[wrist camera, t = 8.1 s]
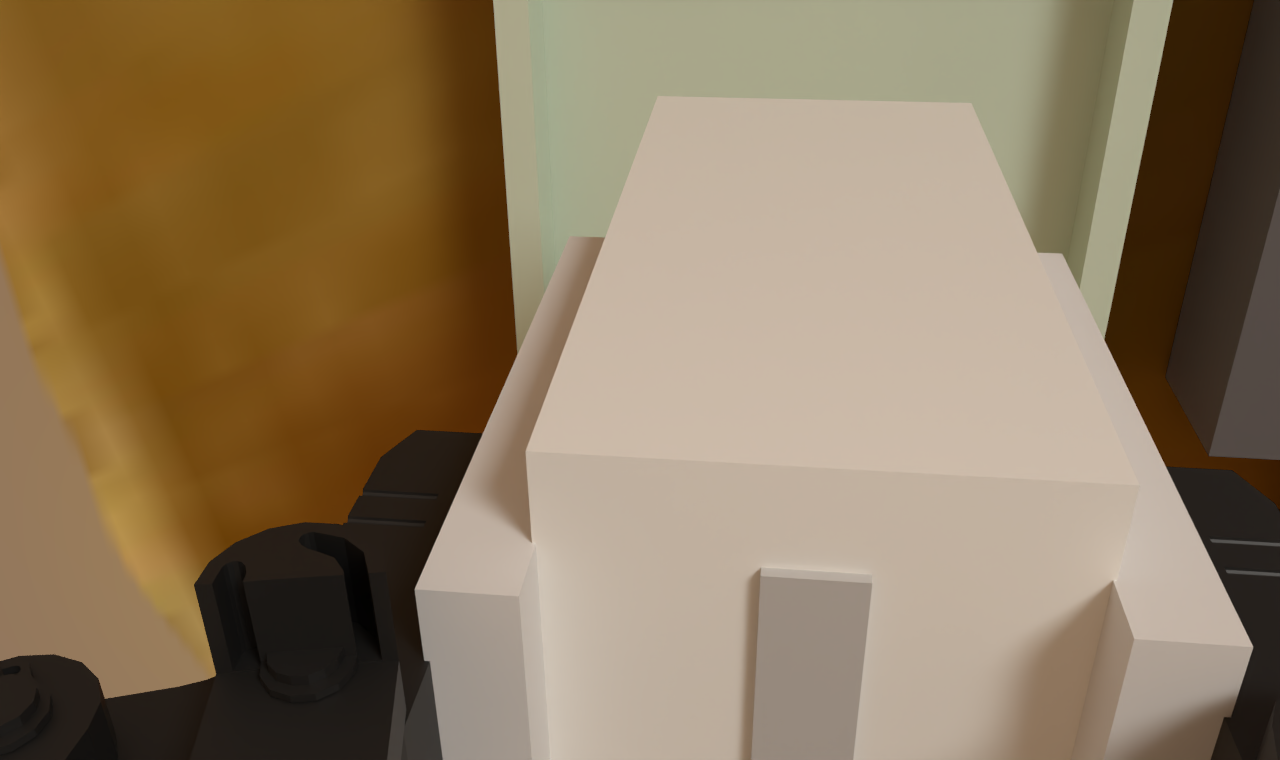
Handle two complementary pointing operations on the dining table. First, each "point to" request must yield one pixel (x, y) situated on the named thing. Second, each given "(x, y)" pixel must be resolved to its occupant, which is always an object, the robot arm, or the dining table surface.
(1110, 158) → the dish
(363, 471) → the dining table surface
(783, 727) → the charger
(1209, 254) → the power strip
